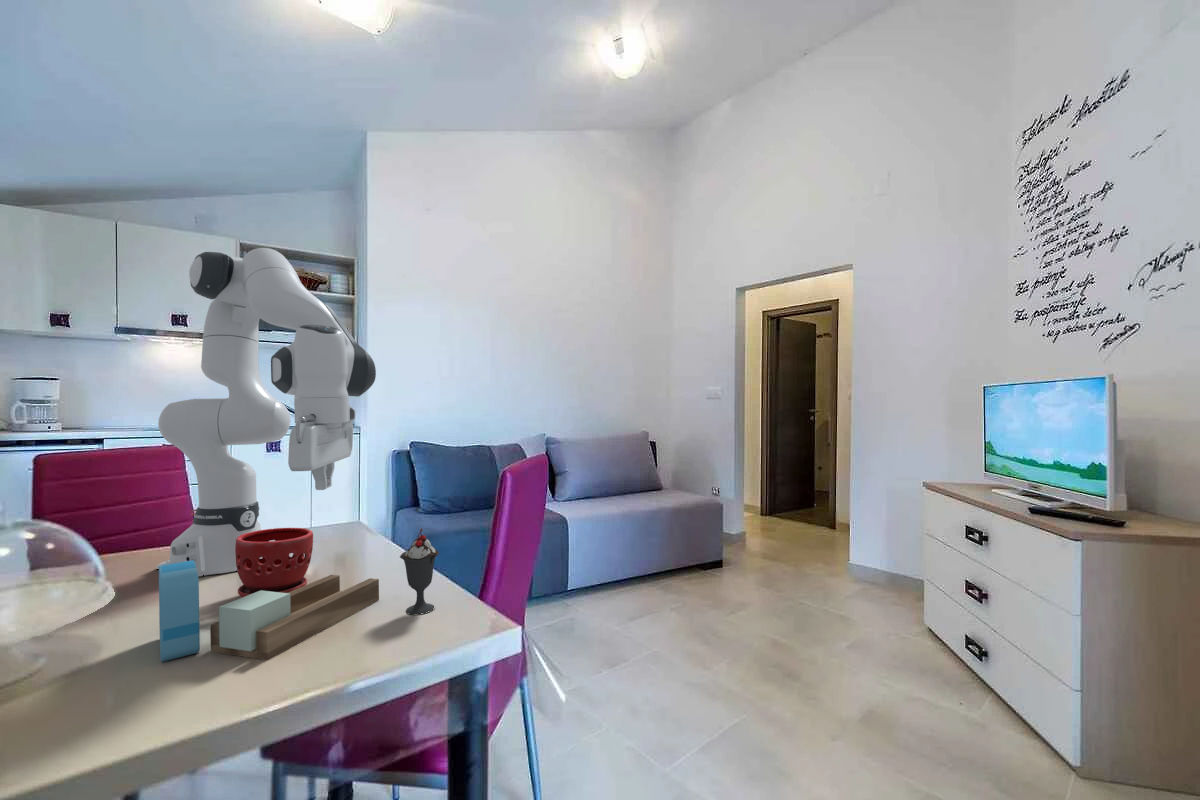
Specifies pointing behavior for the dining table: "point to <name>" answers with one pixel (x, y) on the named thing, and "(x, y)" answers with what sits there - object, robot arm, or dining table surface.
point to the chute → (306, 615)
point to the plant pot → (273, 559)
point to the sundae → (419, 571)
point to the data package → (178, 610)
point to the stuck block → (250, 618)
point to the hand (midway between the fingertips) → (323, 488)
